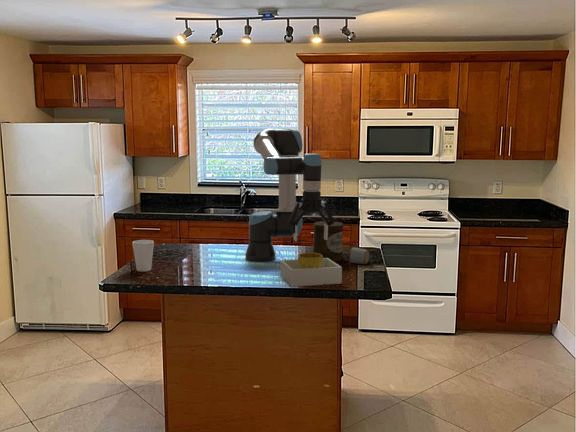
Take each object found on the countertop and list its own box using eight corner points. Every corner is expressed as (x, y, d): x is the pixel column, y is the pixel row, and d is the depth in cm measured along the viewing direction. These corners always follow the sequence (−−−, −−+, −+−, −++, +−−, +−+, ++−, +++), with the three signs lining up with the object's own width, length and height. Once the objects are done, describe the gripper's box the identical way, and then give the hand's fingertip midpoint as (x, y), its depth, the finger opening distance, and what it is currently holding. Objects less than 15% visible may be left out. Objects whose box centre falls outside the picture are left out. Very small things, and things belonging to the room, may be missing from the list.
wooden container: (333, 263, 264) (335, 218, 261) (307, 259, 272) (308, 216, 269) (347, 257, 277) (348, 215, 273) (321, 254, 284) (322, 212, 281)
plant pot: (305, 281, 226) (305, 258, 225) (293, 275, 235) (294, 253, 234) (326, 278, 231) (327, 256, 230) (314, 273, 240) (314, 251, 239)
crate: (280, 275, 239) (280, 260, 238) (327, 273, 245) (327, 257, 244) (291, 286, 222) (291, 270, 221) (341, 283, 228) (341, 267, 227)
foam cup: (158, 268, 250) (157, 240, 248) (147, 273, 241) (146, 244, 239) (140, 266, 253) (140, 239, 251) (128, 271, 244) (128, 242, 242)
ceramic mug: (365, 265, 260) (366, 250, 259) (349, 264, 263) (349, 248, 262) (371, 261, 269) (371, 246, 268) (355, 260, 272) (355, 245, 272)
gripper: (285, 192, 221) (284, 243, 224) (342, 191, 228) (341, 240, 231) (280, 190, 228) (280, 239, 231) (336, 189, 235) (335, 237, 238)
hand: (310, 240), depth 231 cm, fingers open, 13 cm apart
